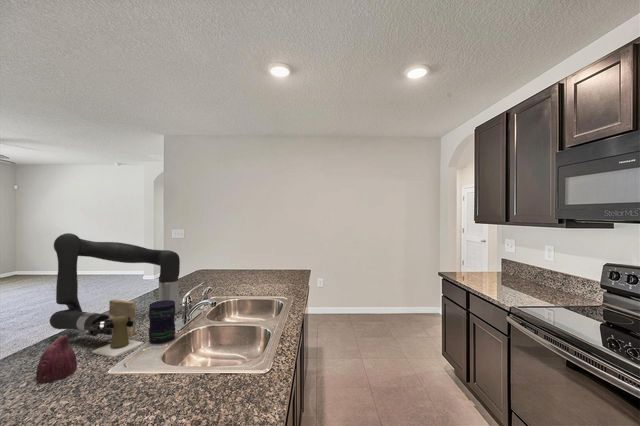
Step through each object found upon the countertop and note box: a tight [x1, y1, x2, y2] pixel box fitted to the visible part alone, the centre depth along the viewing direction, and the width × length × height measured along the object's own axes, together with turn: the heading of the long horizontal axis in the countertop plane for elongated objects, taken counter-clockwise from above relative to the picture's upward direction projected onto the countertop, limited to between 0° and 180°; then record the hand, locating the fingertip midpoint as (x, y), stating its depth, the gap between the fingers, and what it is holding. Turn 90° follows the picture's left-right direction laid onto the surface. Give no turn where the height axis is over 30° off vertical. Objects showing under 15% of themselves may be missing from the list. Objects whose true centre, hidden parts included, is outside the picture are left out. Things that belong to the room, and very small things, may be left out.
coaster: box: [91, 339, 145, 358], centre depth 114 cm, size 12×12×1 cm
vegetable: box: [35, 333, 78, 384], centre depth 96 cm, size 10×10×15 cm
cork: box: [110, 316, 130, 348], centre depth 116 cm, size 6×6×11 cm
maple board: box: [108, 299, 138, 338], centre depth 129 cm, size 4×13×14 cm, turn 71°
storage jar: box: [148, 300, 176, 345], centre depth 123 cm, size 10×10×15 cm
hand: (122, 327), depth 114 cm, fingers open, 8 cm apart
